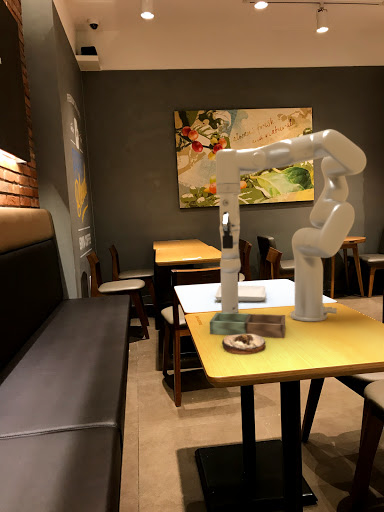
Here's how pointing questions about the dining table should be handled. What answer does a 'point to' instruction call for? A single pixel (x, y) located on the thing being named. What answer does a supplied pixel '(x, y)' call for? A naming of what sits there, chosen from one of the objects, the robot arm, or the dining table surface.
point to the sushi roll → (243, 343)
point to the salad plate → (247, 293)
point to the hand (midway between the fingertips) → (229, 246)
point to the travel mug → (229, 292)
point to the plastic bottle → (230, 252)
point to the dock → (248, 324)
